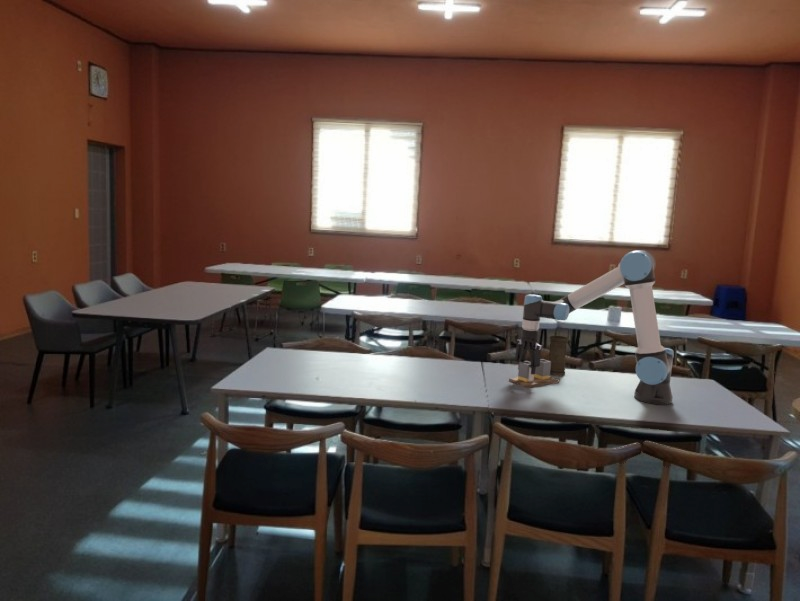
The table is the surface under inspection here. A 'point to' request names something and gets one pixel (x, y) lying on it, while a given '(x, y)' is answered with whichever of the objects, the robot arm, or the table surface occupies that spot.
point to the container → (557, 355)
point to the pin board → (533, 382)
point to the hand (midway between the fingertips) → (525, 379)
